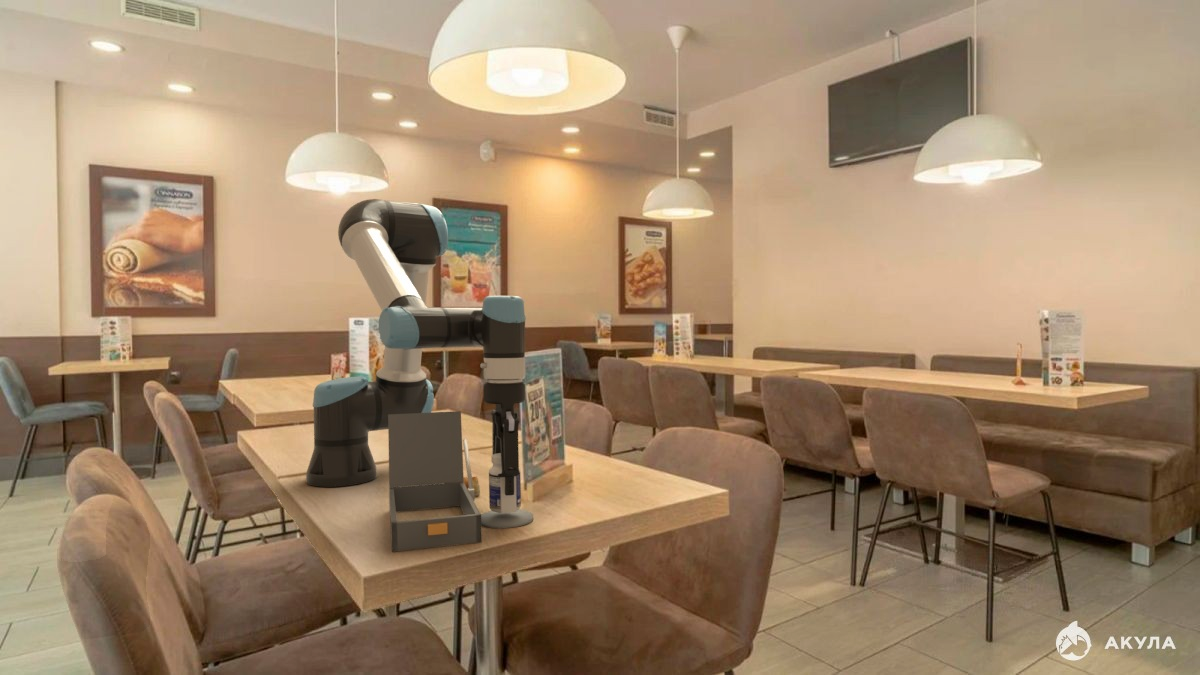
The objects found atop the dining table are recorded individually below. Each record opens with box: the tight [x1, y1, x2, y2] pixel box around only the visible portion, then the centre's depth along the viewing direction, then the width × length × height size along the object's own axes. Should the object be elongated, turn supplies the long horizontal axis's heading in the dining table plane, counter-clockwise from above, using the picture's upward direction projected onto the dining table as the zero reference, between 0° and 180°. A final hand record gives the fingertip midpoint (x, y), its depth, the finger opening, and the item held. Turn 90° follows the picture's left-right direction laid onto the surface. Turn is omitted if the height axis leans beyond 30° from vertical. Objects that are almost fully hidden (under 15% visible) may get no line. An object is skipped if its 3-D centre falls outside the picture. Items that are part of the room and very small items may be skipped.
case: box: [387, 410, 482, 553], centre depth 119 cm, size 29×15×18 cm, turn 19°
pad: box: [481, 508, 534, 529], centre depth 121 cm, size 10×10×1 cm
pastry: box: [455, 476, 481, 498], centre depth 139 cm, size 9×7×4 cm
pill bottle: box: [488, 453, 522, 513], centre depth 121 cm, size 6×6×10 cm
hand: (505, 507), depth 121 cm, fingers closed on pill bottle, 6 cm apart
